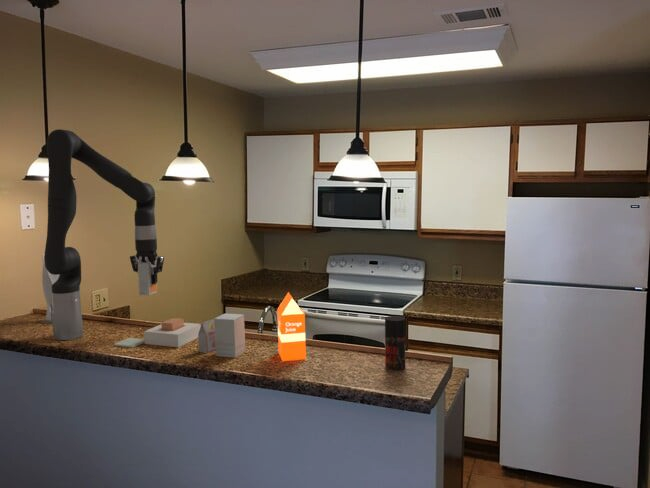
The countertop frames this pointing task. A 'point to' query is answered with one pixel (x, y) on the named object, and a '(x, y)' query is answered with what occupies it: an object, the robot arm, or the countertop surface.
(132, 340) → the mat
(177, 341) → the frame
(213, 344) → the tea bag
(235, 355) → the supplement box
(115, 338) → the countertop surface
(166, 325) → the button
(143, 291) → the skincare box
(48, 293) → the skyscraper
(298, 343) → the orange juice
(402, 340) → the deodorant
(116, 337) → the countertop surface
